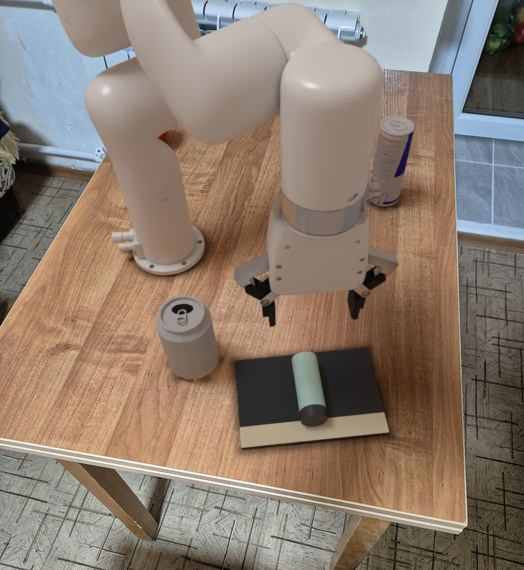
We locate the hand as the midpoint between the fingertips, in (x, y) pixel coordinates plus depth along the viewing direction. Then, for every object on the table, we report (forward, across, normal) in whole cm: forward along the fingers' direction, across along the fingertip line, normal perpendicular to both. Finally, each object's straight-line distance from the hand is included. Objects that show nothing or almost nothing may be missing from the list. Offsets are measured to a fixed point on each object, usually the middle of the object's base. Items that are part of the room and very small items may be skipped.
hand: (311, 313), depth 60 cm
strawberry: (+18, +23, -61) cm, 68 cm away
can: (+17, +16, -5) cm, 24 cm away
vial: (+16, 0, +2) cm, 16 cm away
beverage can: (+17, -20, -38) cm, 46 cm away
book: (+16, 0, +2) cm, 17 cm away
